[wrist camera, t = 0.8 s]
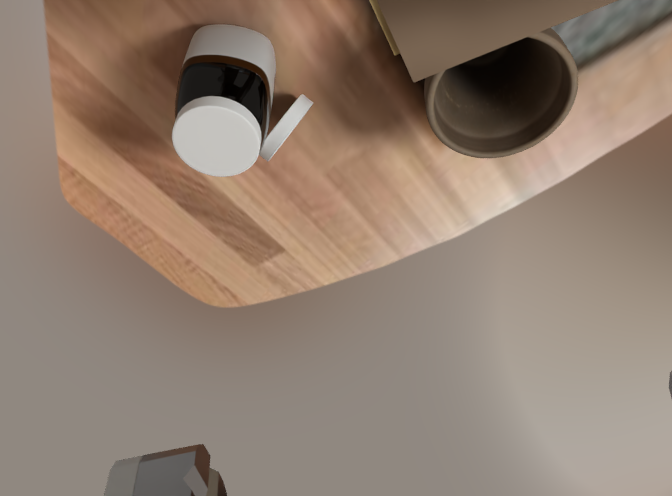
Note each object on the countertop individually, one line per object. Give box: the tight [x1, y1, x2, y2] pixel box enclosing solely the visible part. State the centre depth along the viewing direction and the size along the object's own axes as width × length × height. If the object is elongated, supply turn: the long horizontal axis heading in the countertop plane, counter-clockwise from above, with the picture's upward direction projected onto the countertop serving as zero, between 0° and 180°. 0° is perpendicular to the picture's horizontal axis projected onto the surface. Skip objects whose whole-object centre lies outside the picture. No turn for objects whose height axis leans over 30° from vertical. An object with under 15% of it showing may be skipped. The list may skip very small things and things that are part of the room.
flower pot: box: [424, 28, 578, 158], centre depth 51 cm, size 12×11×10 cm
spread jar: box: [172, 24, 313, 177], centre depth 54 cm, size 12×11×12 cm
